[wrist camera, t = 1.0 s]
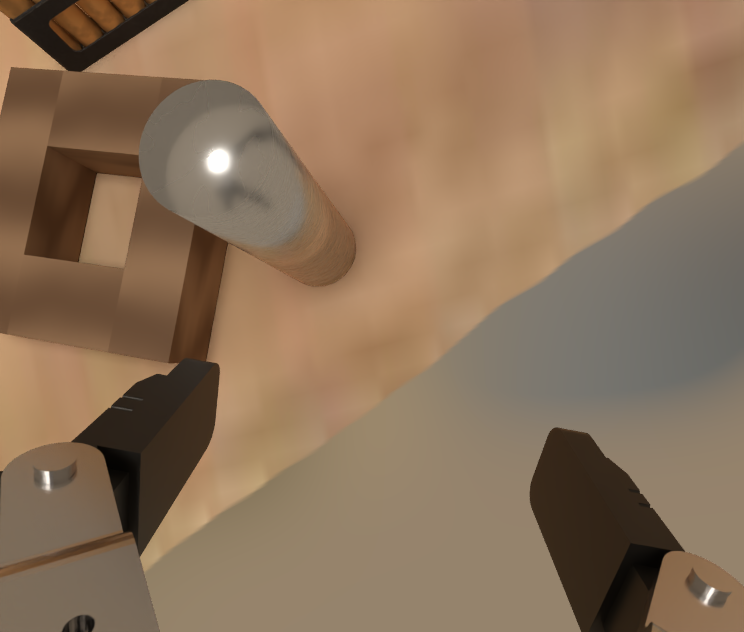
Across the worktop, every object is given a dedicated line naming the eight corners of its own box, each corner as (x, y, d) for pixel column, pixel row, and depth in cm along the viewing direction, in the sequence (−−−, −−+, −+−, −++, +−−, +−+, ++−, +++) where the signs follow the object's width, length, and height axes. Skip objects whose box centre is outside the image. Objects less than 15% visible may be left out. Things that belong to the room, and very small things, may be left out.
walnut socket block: (63, 102, 33) (11, 67, 29) (250, 117, 31) (221, 81, 27) (14, 329, 32) (-47, 324, 28) (205, 362, 29) (168, 362, 25)
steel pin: (289, 209, 30) (153, 75, 16) (361, 217, 29) (283, 84, 15) (277, 281, 29) (126, 209, 15) (348, 291, 28) (258, 224, 15)
